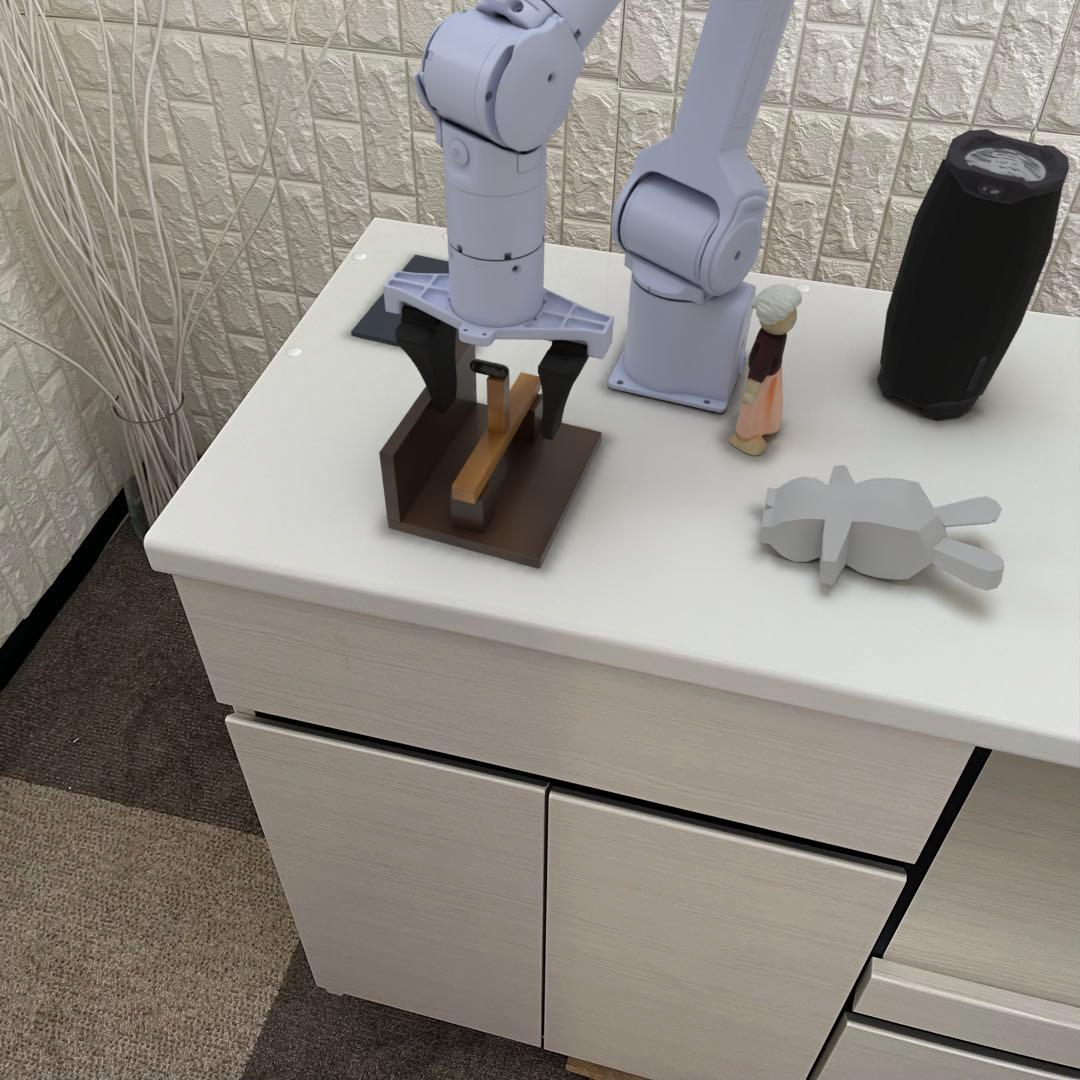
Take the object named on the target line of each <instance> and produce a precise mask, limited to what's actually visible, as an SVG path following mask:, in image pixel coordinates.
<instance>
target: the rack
mask: <svg viewBox="0 0 1080 1080" xmlns="http://www.w3.org/2000/svg"><path fill="white" fill-rule="evenodd" d="M455 359H456V373H457V394H456V398H455V400H454V401H453V403H452V405H451V406H450V408H449V409H448V411H447V412H446V414H440V413H437V412H436V410H435V407H434V404H433V402H432V399H431V396H430V394H429V391H428V389H427V387H426V386H424V388H423V389H422V391H421V392H420V394H419V395H418V396H417V398H416V400H415V401H414V402H413V404H412V405H411V406H410V408H409V410H408V411H407V412H406V414H405V415H404V417H403V418H402V419H401V420H400V422H399V423H398V425H396V428H395V429H394V430H393V432H392V434H391V435H390V436H389V438H388V439H387V440H386V442H385V444H383V446H382V448H381V449H380V451H379V452H378V455H379V463H380V471H381V479H382V486H383V495H384V496H383V497H384V503H385V511H386V519H387V526H388V528H389V529H394V530H397V531H401V532H404V533H408V534H412V535H415V536H419V537H423V538H427V539H431V540H435V541H438V542H442V543H445V544H449V545H453V546H456V547H460V548H464V549H467V550H471V551H475V552H478V553H483V554H486V555H489V556H493V557H497V558H501V559H505V560H508V561H512V562H515V563H519V564H524V565H527V566H530V567H534V568H537V569H539V568H541V565H542V563H543V561H544V559H545V557H546V555H547V553H548V551H549V549H550V547H551V545H552V543H553V541H554V538H555V537H556V535H557V533H558V530H559V529H560V527H561V524H562V522H563V520H564V518H565V517H566V515H567V512H568V509H569V507H570V506H571V503H572V501H573V499H574V497H575V495H576V494H577V491H578V488H580V485H581V482H582V481H583V478H584V476H585V475H586V472H587V471H588V468H589V466H590V464H591V462H592V460H593V458H594V456H595V454H596V451H597V450H598V447H599V446H600V444H601V441H602V437H603V432H602V431H599V430H594V429H591V428H586V427H582V426H579V425H578V426H577V425H574V424H569V423H565V422H561V425H560V427H559V429H558V431H557V433H556V434H555V436H554V438H553V440H548V439H544V438H542V433H541V424H542V412H543V398H542V393H538V395H537V397H536V398H535V400H534V402H533V403H532V405H531V407H530V409H529V410H528V412H527V414H526V416H525V417H524V419H523V421H522V423H521V424H520V426H519V428H518V429H517V431H516V433H515V435H514V436H513V438H512V440H511V442H510V443H509V445H508V447H507V449H506V450H505V452H504V454H503V456H502V457H501V459H500V461H499V462H498V464H497V466H496V468H495V469H494V471H493V473H492V475H491V476H490V478H489V480H488V482H487V483H486V485H485V487H484V489H483V490H482V492H481V494H480V495H479V497H478V499H477V501H476V502H475V504H471V503H467V502H464V501H460V500H456V499H453V498H452V484H453V483H454V481H455V479H456V478H457V476H458V475H459V473H460V471H461V470H462V468H463V466H464V465H465V463H466V461H467V460H468V458H469V456H470V455H471V453H472V452H473V450H474V448H475V447H476V445H477V443H478V442H479V440H480V438H481V437H482V435H483V433H484V432H485V430H486V429H487V427H488V414H487V403H486V404H485V403H482V402H478V395H477V394H478V393H477V392H478V391H477V388H478V387H477V373H475V372H473V371H472V370H471V369H470V362H471V361H472V360H474V359H477V357H476V345H473V344H469V343H464V342H462V341H461V340H460V339H459V340H458V341H457V342H456V344H455Z"/></svg>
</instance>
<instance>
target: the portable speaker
mask: <svg viewBox="0 0 1080 1080" xmlns="http://www.w3.org/2000/svg"><path fill="white" fill-rule="evenodd" d="M1069 170H1070V162H1069V157H1068V156H1067V155H1066V154H1065V153H1063V152H1062V151H1061V150H1060V149H1059V148H1057V147H1056V146H1055V145H1050V144H1037V143H1034V142H1030V141H1026V140H1021V139H1018V138H1015V137H1010V136H1006V135H1004V134H1003V135H1002V134H998V133H996V132H994V131H992V130H990V129H987V128H986V129H971V130H969V129H968V130H967V131H964V132H963V133H960V134H959V135H957V136H955V137H954V138H952V139H951V142H950V144H949V147H948V149H947V153H946V156H945V158H942V160H941V163H940V164H939V167H938V168H937V171H936V173H935V175H934V177H933V179H932V181H931V183H930V185H929V187H928V189H927V192H926V193H925V195H924V197H923V200H922V201H921V204H920V206H919V208H918V210H917V212H916V214H915V216H914V219H913V221H912V224H911V229H910V231H909V235H908V238H907V242H906V245H905V248H904V252H903V255H902V259H901V261H900V265H899V269H898V272H897V274H896V275H897V276H896V278H895V281H894V282H895V283H894V286H893V288H892V291H891V296H890V300H889V302H888V306H887V308H886V314H885V322H884V330H883V337H882V345H881V353H880V359H879V360H880V361H879V365H880V368H879V372H878V375H877V377H876V380H877V383H878V386H879V389H880V391H881V394H882V396H886V397H893V396H895V397H898V398H900V399H902V400H904V401H906V402H909V403H911V404H912V405H915V406H917V407H919V408H921V409H922V411H923V412H924V414H925V416H926V417H927V418H930V419H933V420H936V421H941V420H950V419H954V418H961V417H963V416H964V415H965V414H967V413H969V411H971V410H972V408H973V407H974V405H975V403H976V402H977V401H978V399H979V397H981V396H983V395H984V393H985V391H986V390H987V388H988V386H989V384H990V382H991V381H992V379H993V377H994V375H995V374H996V372H997V369H998V368H999V366H1000V364H1001V362H1002V360H1003V358H1004V357H1005V355H1006V354H1007V352H1008V349H1009V348H1010V346H1011V344H1012V342H1013V341H1014V339H1015V336H1016V335H1017V333H1018V331H1019V329H1020V327H1021V326H1022V323H1023V321H1024V318H1025V316H1026V313H1027V311H1028V308H1029V305H1030V302H1031V299H1032V297H1033V295H1034V292H1035V290H1036V287H1037V284H1038V283H1039V280H1040V277H1041V275H1042V272H1043V269H1044V267H1045V264H1046V261H1047V259H1048V256H1049V254H1050V251H1051V249H1052V246H1053V241H1054V235H1055V230H1056V224H1057V220H1058V219H1057V218H1058V213H1059V207H1060V203H1061V197H1062V193H1063V187H1064V185H1065V181H1066V179H1067V176H1068V173H1069Z"/></svg>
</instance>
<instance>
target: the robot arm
mask: <svg viewBox="0 0 1080 1080" xmlns="http://www.w3.org/2000/svg"><path fill="white" fill-rule="evenodd" d="M795 1H796V0H710V1H709V3H708V8H707V11H706V14H705V18H704V22H703V25H702V29H701V32H700V36H699V39H698V42H697V45H696V50H695V53H694V57H693V60H692V64H691V67H690V71H689V73H688V78H687V81H686V84H685V88H684V91H683V95H682V98H681V103H680V105H679V110H678V112H677V116H676V119H675V123H674V126H673V130H672V133H671V134H670V135H668V136H667V137H665V138H664V139H660V140H659V141H657V142H654V143H652V144H650V145H648V146H646V147H644V148H643V149H641V150H639V151H638V152H637V153H636V157H635V161H634V165H633V168H632V170H631V173H630V175H629V177H628V179H627V181H626V183H625V185H624V186H623V188H622V189H621V190H620V193H619V194H618V196H617V198H616V201H615V203H614V206H613V210H612V215H611V235H612V240H613V242H614V244H615V245H616V246H617V247H618V249H620V250H622V251H624V262H623V265H624V266H625V267H626V268H628V270H630V272H631V275H630V285H629V286H630V287H629V297H628V309H627V320H626V321H627V322H626V329H625V330H626V331H625V341H624V348H623V349H622V352H621V354H620V356H619V357H618V360H617V362H616V363H615V366H614V368H613V369H612V371H611V373H610V376H609V377H608V379H607V387H609V388H610V389H613V390H617V391H622V392H627V393H631V394H635V395H640V396H643V397H647V398H648V397H649V398H652V399H657V400H662V401H666V402H671V403H675V404H679V405H684V406H688V407H692V408H697V409H702V410H706V411H710V412H715V413H724V412H725V411H726V410H727V407H728V405H729V402H730V400H731V396H732V393H733V390H734V388H735V385H736V382H737V379H738V377H739V376H741V375H742V373H743V370H744V367H745V364H746V358H747V352H746V348H747V341H748V336H749V333H750V332H749V331H750V326H751V322H752V316H753V310H754V308H752V307H751V301H752V300H753V299H754V298H755V297H756V293H757V286H756V285H755V284H752V283H750V282H747V281H744V279H746V277H747V276H748V275H749V273H750V271H751V270H752V269H753V267H754V264H755V262H756V260H757V258H758V255H759V252H760V249H761V246H762V237H763V234H762V233H763V231H762V229H763V222H764V216H765V212H766V209H767V205H768V201H769V198H770V192H769V190H768V188H767V186H766V184H765V182H764V180H763V179H762V177H761V176H760V174H759V172H758V171H757V169H756V168H755V166H754V164H753V163H752V160H751V159H750V158H749V155H748V152H747V149H748V146H749V143H750V140H751V136H752V133H753V130H754V127H755V124H756V121H757V118H758V114H759V113H760V108H761V105H762V103H763V98H764V96H765V93H766V90H767V87H768V83H769V80H770V77H771V74H772V71H773V69H774V65H775V62H776V59H777V57H778V53H779V51H780V47H781V44H782V41H783V37H784V34H785V31H786V28H787V26H788V22H789V19H790V16H791V12H792V9H793V6H794V4H795ZM621 2H622V0H479V1H478V3H477V4H476V6H475V7H464V8H462V13H461V12H458V11H455V12H454V13H452V14H451V15H449V16H447V17H446V18H444V19H443V20H441V21H440V22H439V23H438V24H437V25H436V26H435V28H434V29H433V30H432V32H431V33H430V35H429V37H428V38H427V40H426V43H425V44H424V45H425V46H424V48H423V52H422V57H421V62H420V63H421V64H420V70H419V71H418V72H416V73H414V76H413V82H414V88H415V91H416V94H417V97H418V100H419V101H420V104H421V105H422V106H423V108H424V109H425V111H427V113H428V114H429V115H430V116H431V118H432V120H433V123H434V132H435V133H434V134H435V143H436V144H438V145H439V147H440V148H441V149H442V159H443V160H442V161H443V162H442V163H443V178H444V179H443V181H444V202H445V203H444V204H445V220H446V237H447V255H448V258H447V259H448V261H449V274H424V273H410V272H404V271H402V270H398V269H397V270H395V271H394V272H393V273H392V275H390V277H389V278H388V280H387V281H386V282H385V283H384V284H383V286H382V288H383V289H382V290H383V293H384V299H385V309H386V311H387V312H391V313H396V314H401V313H402V317H401V323H400V324H399V325H398V327H397V328H396V330H395V338H396V343H397V344H398V345H399V346H398V347H399V348H401V350H402V351H403V352H404V353H405V354H406V355H407V356H408V358H409V359H410V360H411V362H412V363H413V365H414V366H415V367H416V369H417V371H418V372H419V374H420V377H421V378H422V381H423V382H424V385H425V387H427V389H428V391H429V394H430V396H431V399H432V402H433V404H434V407H435V410H436V412H437V413H440V414H446V412H447V411H448V409H449V408H450V406H451V405H452V403H453V401H454V400H455V398H456V394H457V373H456V359H455V344H456V328H457V329H459V339H460V340H461V341H462V342H464V343H469V344H473V345H475V346H478V347H483V348H484V347H485V348H486V347H489V346H491V345H493V343H494V342H495V341H496V340H517V341H518V340H521V341H524V340H527V341H529V340H530V341H531V340H532V341H535V340H537V341H543V340H544V341H547V342H551V345H550V347H549V349H547V350H546V352H545V354H544V355H543V357H542V359H541V360H540V362H539V364H538V366H537V375H538V376H539V378H540V383H541V394H542V398H543V412H542V424H541V433H542V438H544V439H548V440H553V438H554V436H555V434H556V433H557V431H558V429H559V427H560V425H561V423H563V418H564V417H563V416H564V412H565V408H566V405H567V401H568V398H569V396H570V393H571V390H572V388H573V386H574V384H575V382H576V381H577V379H578V377H579V376H580V374H581V373H582V370H583V369H584V368H585V365H586V363H587V362H588V360H589V358H594V359H598V360H604V358H605V356H606V354H607V353H608V352H609V349H610V347H611V345H612V343H613V336H614V335H613V334H614V323H615V316H614V315H610V314H607V313H603V312H599V311H596V310H593V309H590V308H588V307H586V306H584V305H582V304H579V303H578V302H575V301H573V300H571V299H568V298H566V297H564V296H562V295H560V294H558V293H555V292H554V291H552V290H549V289H548V288H545V287H544V285H545V284H544V282H545V245H546V244H545V242H546V241H545V240H546V239H545V238H546V199H547V159H548V158H547V155H548V154H547V153H548V139H549V138H551V137H552V135H553V134H554V133H555V132H556V131H557V130H558V129H559V128H560V127H561V126H562V125H563V123H564V122H565V119H566V116H567V114H568V112H569V109H570V106H571V103H572V101H573V100H572V99H573V95H574V89H575V86H576V83H577V79H578V78H579V76H580V75H581V73H582V72H583V71H584V69H583V65H584V64H585V62H586V58H585V56H584V54H583V53H584V52H585V51H586V49H587V48H588V47H589V45H590V44H591V42H593V40H594V38H595V37H596V36H597V35H598V33H599V32H600V30H601V29H602V28H603V26H604V25H605V23H606V22H607V21H608V19H610V17H611V15H612V14H613V13H614V11H615V10H616V9H617V7H618V6H619V5H620V4H621Z"/></svg>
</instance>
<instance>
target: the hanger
mask: <svg viewBox="0 0 1080 1080" xmlns="http://www.w3.org/2000/svg"><path fill="white" fill-rule="evenodd" d="M470 369H471V370H472V371H473V372H475V373H476V374H479V375H484V376H487V378H486V405H487V414H488V427H487V429H486V430H485V432H484V433H483V435H482V437H481V438H480V440H479V442H478V443H477V445H476V447H475V448H474V450H473V452H472V453H471V455H470V456H469V458H468V460H467V461H466V463H465V465H464V466H463V468H462V470H461V471H460V473H459V475H458V476H457V478H456V479H455V481H454V483H453V484H452V498H453V499H456V500H460V501H464V502H467V503H471V504H475V502H476V501H477V499H478V497H479V495H480V494H481V492H482V490H483V489H484V487H485V485H486V483H487V482H488V480H489V478H490V476H491V475H492V473H493V471H494V469H495V468H496V466H497V464H498V462H499V461H500V459H501V457H502V456H503V454H504V452H505V450H506V449H507V447H508V445H509V443H510V442H511V440H512V438H513V436H514V435H515V433H516V431H517V429H518V428H519V426H520V424H521V423H522V421H523V419H524V417H525V416H526V414H527V412H528V410H529V409H530V407H531V405H532V403H533V402H534V400H535V398H536V397H537V395H538V394H540V391H542V388H541V383H540V378H539V375H536V374H530V373H527V372H521V371H520V373H518V376H517V378H516V380H514V382H513V384H512V386H511V387H510V384H511V383H510V379H511V378H510V377H511V376H510V369H509V367H508V366H507V365H506V364H501V363H498V362H493V361H489V360H484V359H480V358H476V359H474V360H472V361H471V362H470Z"/></svg>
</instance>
